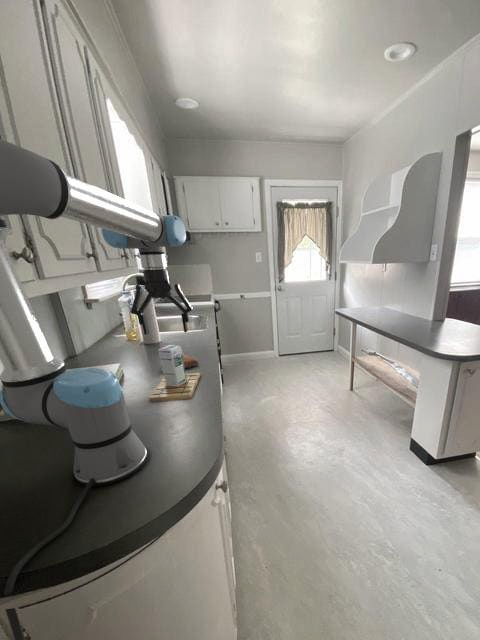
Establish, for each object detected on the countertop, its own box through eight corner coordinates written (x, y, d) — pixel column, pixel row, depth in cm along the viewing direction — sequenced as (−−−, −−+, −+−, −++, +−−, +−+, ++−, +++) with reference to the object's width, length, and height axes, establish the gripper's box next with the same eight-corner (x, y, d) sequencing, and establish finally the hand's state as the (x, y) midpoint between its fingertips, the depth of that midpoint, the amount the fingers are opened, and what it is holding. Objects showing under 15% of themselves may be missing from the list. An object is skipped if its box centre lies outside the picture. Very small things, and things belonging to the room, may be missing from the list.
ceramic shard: (149, 358, 135) (177, 354, 148) (151, 372, 136) (179, 367, 149) (170, 358, 127) (198, 354, 140) (172, 373, 129) (199, 368, 141)
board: (190, 398, 107) (190, 394, 106) (150, 401, 106) (149, 397, 105) (200, 376, 127) (199, 372, 127) (165, 378, 126) (165, 375, 125)
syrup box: (178, 387, 113) (171, 349, 107) (165, 385, 114) (157, 348, 109) (187, 381, 118) (181, 345, 112) (175, 380, 119) (168, 344, 114)
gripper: (195, 267, 105) (203, 328, 113) (119, 270, 102) (133, 332, 110) (191, 267, 98) (200, 332, 106) (110, 270, 95) (126, 336, 103)
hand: (166, 332), depth 108 cm, fingers open, 13 cm apart
